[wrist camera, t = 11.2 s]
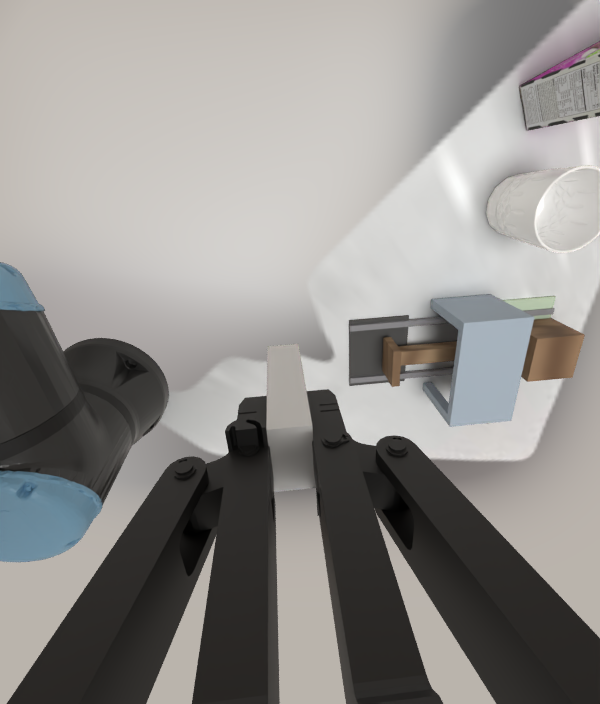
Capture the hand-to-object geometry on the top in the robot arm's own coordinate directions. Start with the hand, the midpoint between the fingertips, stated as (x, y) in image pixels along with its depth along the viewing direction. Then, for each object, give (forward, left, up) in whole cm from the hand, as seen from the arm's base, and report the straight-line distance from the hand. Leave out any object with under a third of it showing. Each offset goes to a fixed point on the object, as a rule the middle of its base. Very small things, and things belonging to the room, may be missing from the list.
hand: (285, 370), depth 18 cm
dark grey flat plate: (+13, -14, -29) cm, 35 cm away
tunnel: (+24, -14, -29) cm, 40 cm away
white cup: (+29, +4, -30) cm, 42 cm away
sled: (+25, -14, -29) cm, 41 cm away
